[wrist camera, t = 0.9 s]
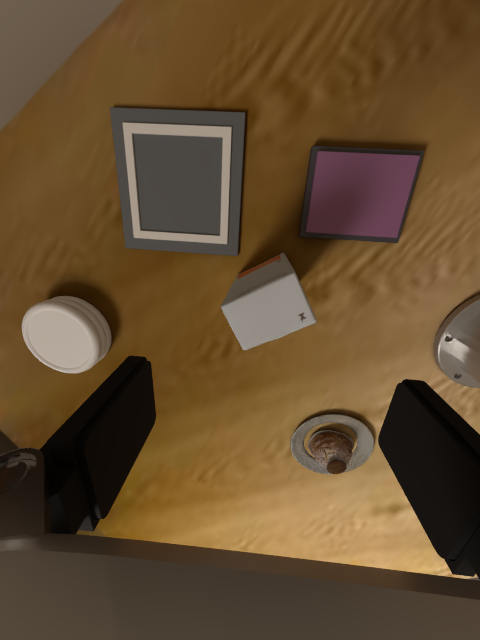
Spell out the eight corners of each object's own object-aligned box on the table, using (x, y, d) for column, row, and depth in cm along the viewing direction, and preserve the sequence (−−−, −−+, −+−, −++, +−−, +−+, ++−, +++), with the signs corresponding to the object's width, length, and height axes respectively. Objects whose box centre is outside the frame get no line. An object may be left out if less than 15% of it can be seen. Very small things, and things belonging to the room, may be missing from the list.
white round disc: (35, 338, 35) (11, 350, 32) (53, 280, 31) (28, 286, 28) (99, 372, 36) (83, 387, 33) (124, 320, 33) (108, 331, 29)
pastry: (318, 396, 35) (326, 420, 30) (388, 431, 36) (405, 459, 32) (275, 448, 39) (277, 476, 35) (339, 477, 40) (348, 508, 36)
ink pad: (417, 153, 23) (427, 149, 22) (393, 242, 26) (400, 243, 25) (310, 148, 24) (313, 144, 22) (298, 236, 27) (300, 236, 25)
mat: (245, 114, 23) (244, 111, 23) (237, 255, 28) (237, 256, 27) (112, 109, 24) (108, 106, 23) (127, 247, 29) (124, 248, 28)
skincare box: (283, 250, 27) (297, 269, 16) (297, 284, 29) (320, 323, 18) (235, 274, 29) (218, 306, 18) (250, 305, 30) (244, 353, 19)
